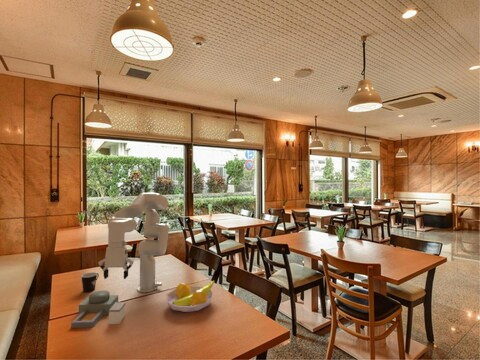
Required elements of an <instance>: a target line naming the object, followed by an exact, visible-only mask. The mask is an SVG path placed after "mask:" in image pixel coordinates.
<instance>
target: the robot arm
mask: <svg viewBox="0 0 480 360" xmlns="http://www.w3.org/2000/svg"><path fill="white" fill-rule="evenodd" d="M168 205H169V200H168V198H167V196H165V195H162V194H161V193H158V192H141V193H139V194H138V195H137V196H136V198H135V199H134V201H133V202H132V203H131V204H130V205H127V206H125V207H123V208H121V209H119V210H117V211H116V212H114V213H113V215H112V216H111V217H110V218H109V220H108V222H107V229H108V232H107V233H108V234H107V236H108V237H107V239H108V241H107V245H108V246H107V247H106V250H105V254H104V255H105V256H104V258H103V259H102V260H100V261H98V262H97V263H98V265H99V268H100V269H102V271H103V278H104V280H106V279H108V278H109V268H122V269H123V279H125V280H126V279H127V278H128V277H129V269H131V268H132V266H133V264H134V260H131V259H130V258H129V257H128V256H129V255H128V249H127V246H128V242H126V240H125V233H132V232H133V231H134V230H136V227H137V221H136V219H134V218H137V217H139V216H142V215H143V213H145V221H144V226H143V227H144V228H143V236H144V237H145V238H148V239H144V240H142V241H140V242H139V244H138V247H137V248H138V249H137V250H138V253H139V285H138V286H137V287H136V290H137V292H139V293H151V292H154V291H156V290H157V289H158V287H162V286H163V283H162V282H161V281H159V282H158V281H157V279H156V259H155V256H164V255H165V253H166V251H167V247H168V241H169V239H168V238H169V232H170V231H169V226H168V225H167V224H166V223H159V221H160V214H159V213H158V211H157V210H166V209H167V207H168ZM157 239H158V240H157ZM128 264H129V265H128Z"/></svg>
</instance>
